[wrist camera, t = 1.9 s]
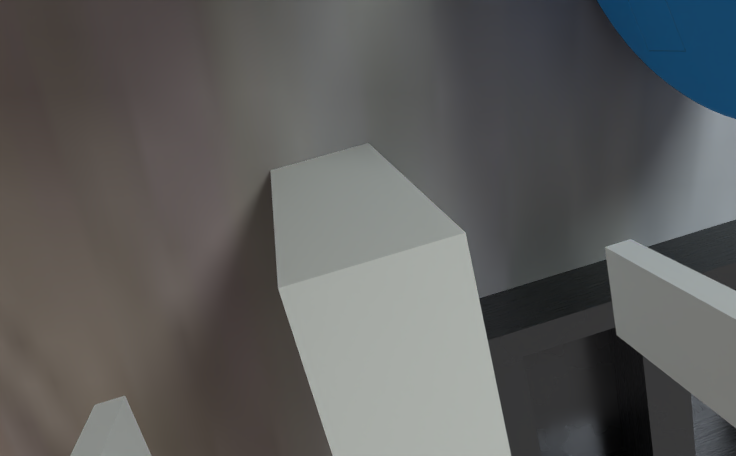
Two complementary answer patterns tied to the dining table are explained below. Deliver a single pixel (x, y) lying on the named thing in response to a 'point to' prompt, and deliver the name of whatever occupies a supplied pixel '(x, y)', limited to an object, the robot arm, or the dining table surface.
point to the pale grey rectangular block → (384, 311)
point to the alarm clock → (684, 45)
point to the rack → (598, 366)
